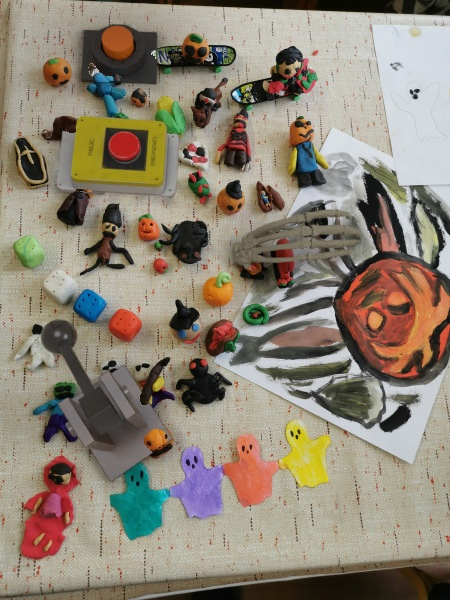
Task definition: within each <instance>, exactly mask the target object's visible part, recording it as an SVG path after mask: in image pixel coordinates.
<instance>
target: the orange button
mask: <svg viewBox="0 0 450 600" xmlns="http://www.w3.org/2000/svg"><path fill="white" fill-rule="evenodd" d="M102 43H103V48H104V52H105V54H106V55H107V56H108V57H110V58H111V59H114V60H123V59H126V58H128V57H129V56H130V55H131V54H132V53H133V50H134V44H133V37H132V34H131V32H130V31H129V30H128V29H126V28H125V27H122V26H112V27H110V28H108V29H106V30H105V31H104V33H103V35H102Z"/></svg>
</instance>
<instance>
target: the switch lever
mask: <svg viewBox="0 0 450 600" xmlns="http://www.w3.org/2000/svg"><path fill="white" fill-rule="evenodd" d="M40 341H41V345H42V346H43V348H44V349H45V350H46V351H47V352H48V353H50V354H53V355H61V356H62V357H63V360H64V362H65V363H66V365H67V367H68V368H69V371H70V373H71V374H72V376H73V378H74V380H75V382H76V383H77V385H78V387H79V389H80V391H81V393H83V395H84V396H83V397H82V398H80V399H79V400H78V401H79V403H80V405H81V407H82V409H83V411H84V413H85V415H86V417H87V419H88V421H89V422H90V423H91V424H92V426H93V427H94V428H95V429H96V431H97V432H98V433H99V434H100V435H102V434H103V433H105V432H106V431H108V430H109V429H111V428H112V427H114V426H115V425H117V424H118V423H120V422H121V421H122V420H121V418H120V416H119V414H118V413H117V411H116V409H115V408H114V406H113V404H112V403H111V401H110V399H109V398H108V397H107V395H106V394H105V393H104V391H103V390H102V388H101V387H100V386H99V387H97V388H95V387H94V383H93V381H92V380H91V378H90V376H89V374H88V373H87V371H86V369H85V368H84V366H83V364H82V362H81V361H80V359H79V356H78V355H77V353H76V352H75V350H74V347H75V346H76V344H77V341H78V331H77V329H76V327H75V326H74V324H73V323H72V322H70V321H68V320H66V319H62V318H55V319H52V320H50V321H48V322H47V323H46V324H45V325H44V327H43V328H42V330H41V333H40Z"/></svg>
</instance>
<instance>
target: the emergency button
mask: <svg viewBox="0 0 450 600" xmlns="http://www.w3.org/2000/svg"><path fill="white" fill-rule="evenodd" d="M75 125H76V132H75V133H69V132H67V131H66V132H65V131H63V130H62V133H61V142H60V150H59V157H58V165H57V172H56V179H55V180H56V181H55V183H56V187H57V189H58V190H59V191H60V192H64V193H74V192H75V191H76V189H88V190H91V191H92V192H85V191H80V192H83V193H82V194H90V195H105V194H119V195H137V196H152V197H169V198H173V197H174V196H175V195H176V194H177V183H178V167H179V166H178V165H179V149H180V138H179V135H178V134H177V133H176V134H169V133H167V131H168V127H167V125H166V123H165V122H164V121H161V120H148V119H137V118H136V119H135V118H120V117H107V116H105V117H104V116H91V115H82V116H80V117H78V118H77V120H76V124H75Z"/></svg>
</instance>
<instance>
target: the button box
mask: <svg viewBox="0 0 450 600" xmlns="http://www.w3.org/2000/svg"><path fill="white" fill-rule="evenodd" d="M112 26H122V27H125V28H126V29H128V30H129V31H130V32H131V34H132V37H133V44H134V50H133V53H132V54H131V55H130V56H129V57H128V58H126V59H123V60H114V59H111V58H110V57H108V56H107V55H106V54H105V52H104V48H103V43H102V35H103V33H104V31H105V30H106V29H108V28H110V27H112ZM156 49H157V50H158V32H157V31H139V30H137V29H135V28H133V27H132V26H130V25H128V24H123V23H122V24H120V23H119V24H118V23H113V24H109V25H107V26H105V27H102V28H100V29H84V30H83V39H82V54H81V55H82V56H81V76H80V80H81V83H95V80H93V79H92V76H91V75H90V74H89V72H88V67H89V64H90V63H93V64H94V65H95V66H96V68H97V69H98V70H99V72H100V73H102V74H103V75H105V76H113V75H115V74H118V75H119V76H121V78H120V81H109V82H110V83H109V84H137V85H139V84H140V85H157V84H158V58H157V59H155V56H153V54H152V55H151V51H153V50H156Z"/></svg>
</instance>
